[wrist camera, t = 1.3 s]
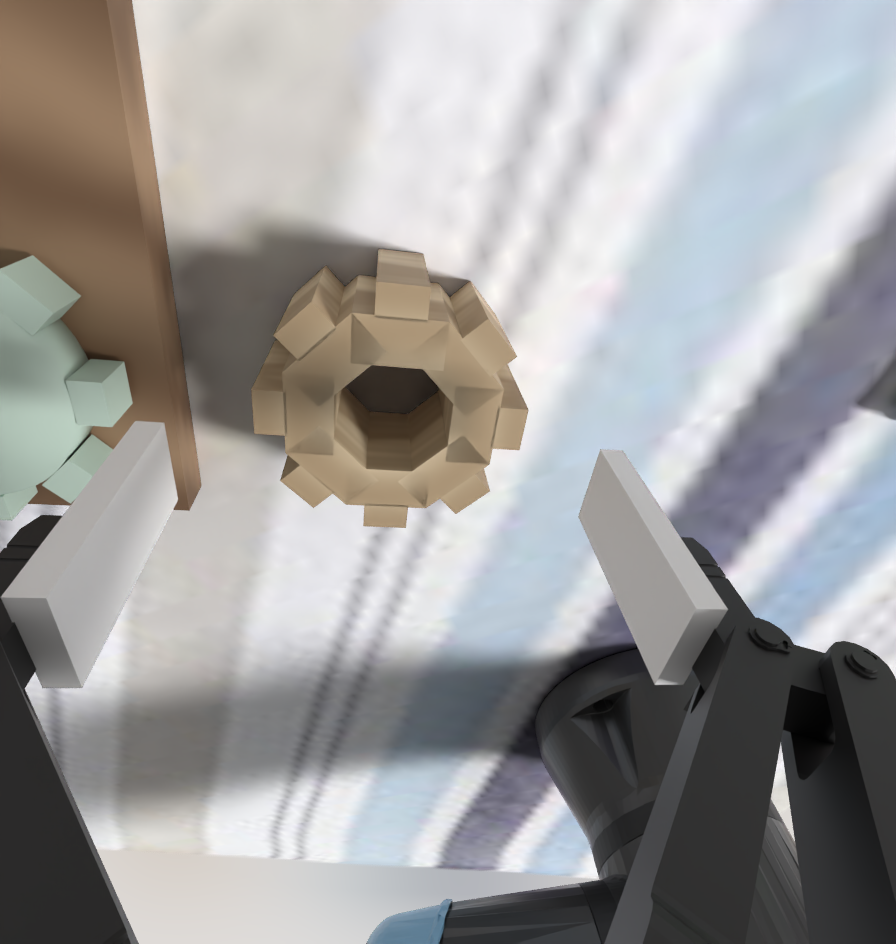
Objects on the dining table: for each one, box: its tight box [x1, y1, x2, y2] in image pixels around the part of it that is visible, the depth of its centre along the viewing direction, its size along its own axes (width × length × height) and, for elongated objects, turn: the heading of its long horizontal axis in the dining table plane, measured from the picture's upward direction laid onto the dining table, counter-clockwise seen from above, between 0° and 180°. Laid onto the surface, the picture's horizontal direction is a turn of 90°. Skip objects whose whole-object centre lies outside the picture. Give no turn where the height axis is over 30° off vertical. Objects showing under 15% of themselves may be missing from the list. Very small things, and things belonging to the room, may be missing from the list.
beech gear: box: [251, 249, 528, 528], centre depth 23 cm, size 10×10×5 cm
